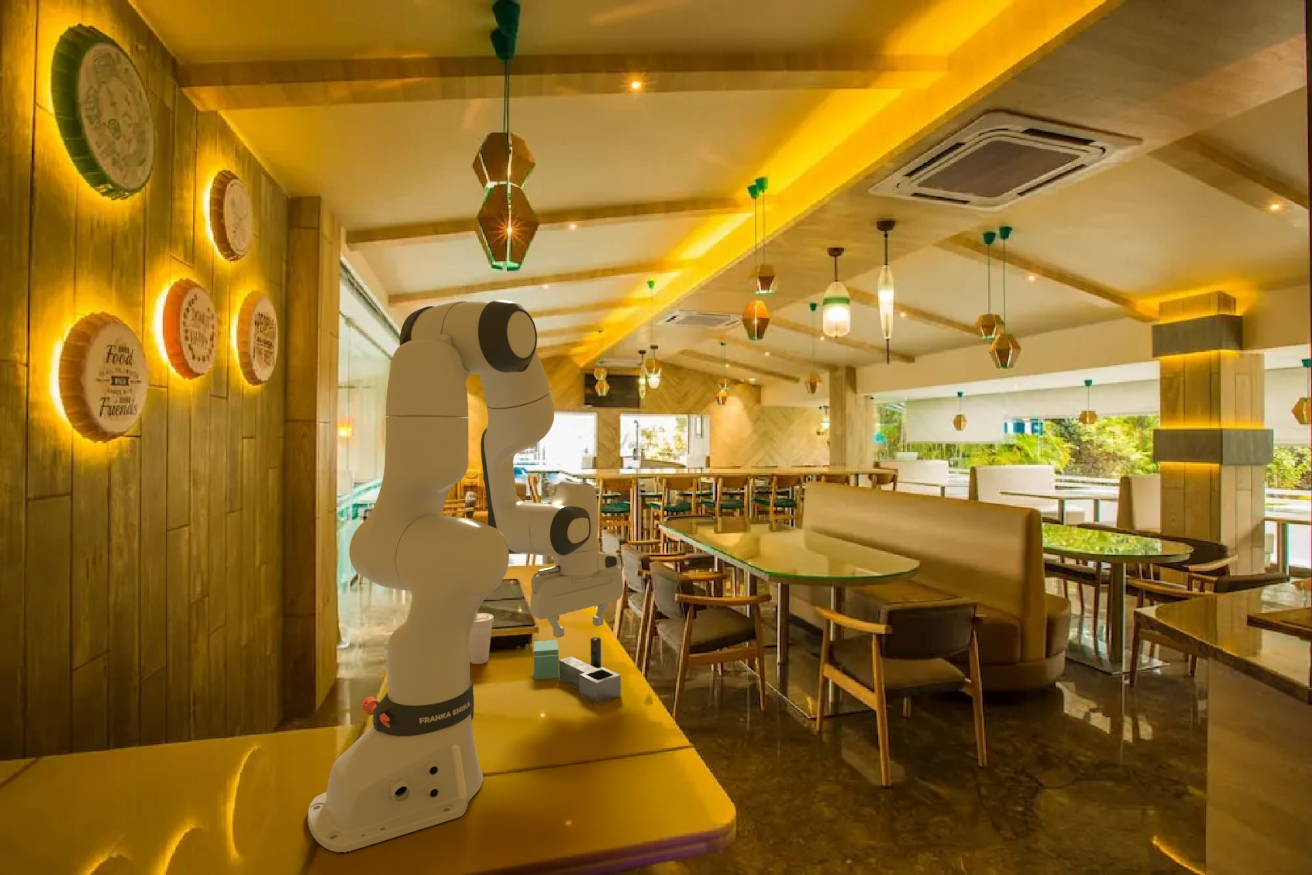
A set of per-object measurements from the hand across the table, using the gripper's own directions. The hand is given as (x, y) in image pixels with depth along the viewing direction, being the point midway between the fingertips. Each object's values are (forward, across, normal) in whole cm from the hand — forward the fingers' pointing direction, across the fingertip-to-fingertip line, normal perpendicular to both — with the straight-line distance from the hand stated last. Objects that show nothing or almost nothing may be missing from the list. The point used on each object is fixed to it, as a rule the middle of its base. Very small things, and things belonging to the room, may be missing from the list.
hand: (579, 630), depth 126 cm
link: (+11, -1, -3) cm, 11 cm away
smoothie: (+11, -10, +25) cm, 29 cm away
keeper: (+11, -2, +10) cm, 15 cm away
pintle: (+11, +7, +5) cm, 14 cm away
